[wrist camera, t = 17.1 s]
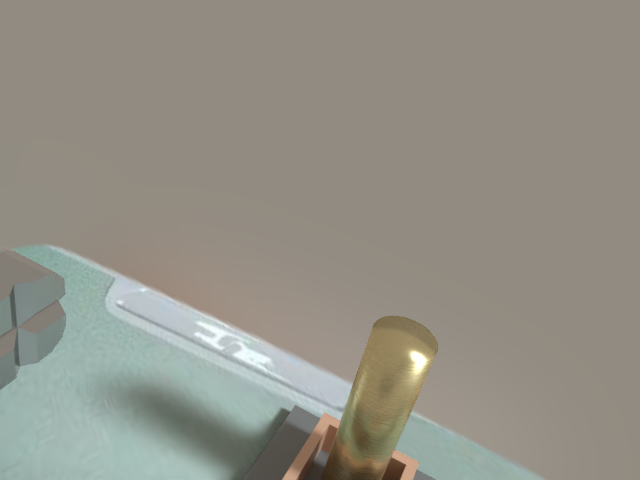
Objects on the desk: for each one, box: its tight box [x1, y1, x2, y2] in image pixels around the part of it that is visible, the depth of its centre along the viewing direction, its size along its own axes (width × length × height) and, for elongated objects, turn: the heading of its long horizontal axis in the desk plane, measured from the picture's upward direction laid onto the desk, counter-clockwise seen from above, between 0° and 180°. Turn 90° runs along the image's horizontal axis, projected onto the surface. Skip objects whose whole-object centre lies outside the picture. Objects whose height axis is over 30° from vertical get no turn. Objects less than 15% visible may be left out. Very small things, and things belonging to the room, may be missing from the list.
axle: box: [320, 316, 438, 480], centre depth 37 cm, size 4×4×16 cm
